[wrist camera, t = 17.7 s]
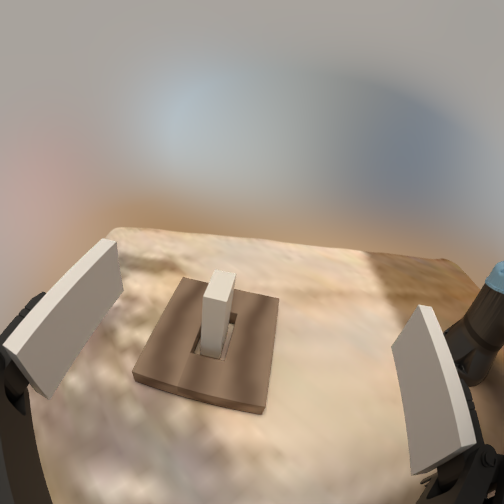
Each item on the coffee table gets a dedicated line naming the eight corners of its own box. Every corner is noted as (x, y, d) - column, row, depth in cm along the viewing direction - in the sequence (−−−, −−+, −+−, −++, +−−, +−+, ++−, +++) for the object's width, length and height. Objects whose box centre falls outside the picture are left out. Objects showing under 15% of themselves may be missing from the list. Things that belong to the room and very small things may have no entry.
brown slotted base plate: (276, 308, 52) (279, 298, 51) (261, 414, 33) (265, 406, 32) (182, 287, 53) (182, 277, 51) (134, 380, 34) (131, 371, 33)
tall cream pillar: (227, 331, 45) (236, 273, 39) (219, 359, 40) (226, 301, 34) (210, 327, 46) (215, 268, 39) (200, 354, 41) (203, 296, 34)
